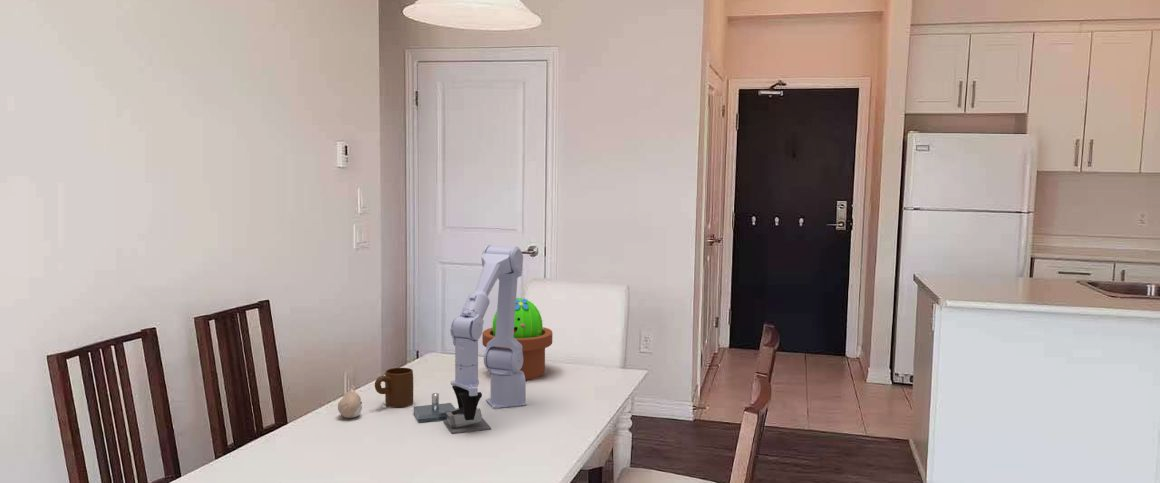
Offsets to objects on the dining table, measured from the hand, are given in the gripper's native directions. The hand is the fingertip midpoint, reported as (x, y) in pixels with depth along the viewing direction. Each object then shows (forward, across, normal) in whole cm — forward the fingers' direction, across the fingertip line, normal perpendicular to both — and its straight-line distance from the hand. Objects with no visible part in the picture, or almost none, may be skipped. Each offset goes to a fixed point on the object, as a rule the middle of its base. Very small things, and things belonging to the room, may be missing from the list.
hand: (466, 416), depth 201 cm
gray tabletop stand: (+1, 0, -1) cm, 2 cm away
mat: (+2, 0, 0) cm, 2 cm away
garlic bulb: (+3, -17, -27) cm, 32 cm away
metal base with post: (+2, -10, -6) cm, 12 cm away
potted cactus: (+3, -44, +27) cm, 52 cm away
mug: (+3, -23, -15) cm, 28 cm away
